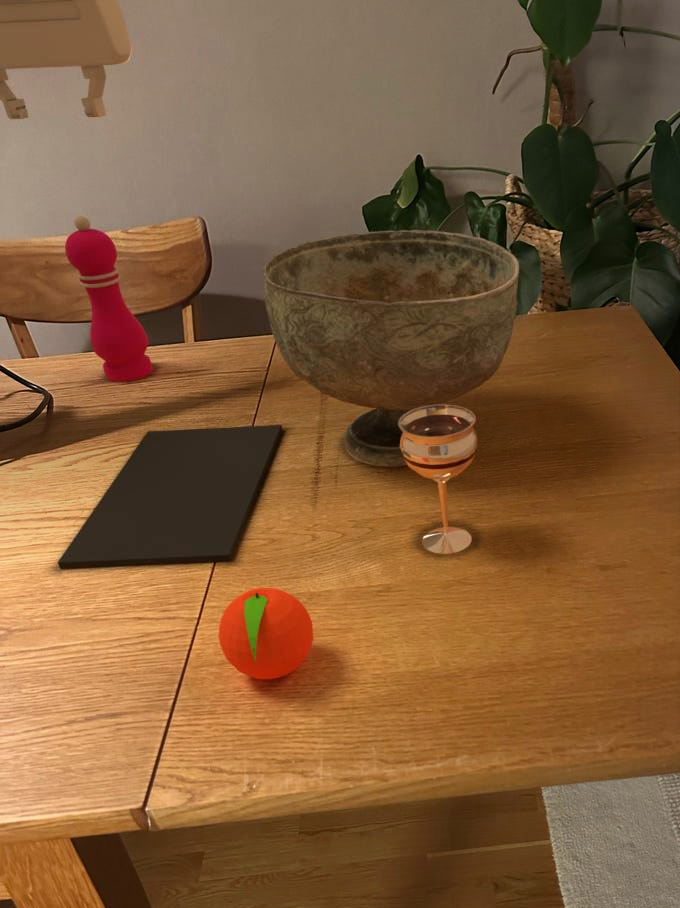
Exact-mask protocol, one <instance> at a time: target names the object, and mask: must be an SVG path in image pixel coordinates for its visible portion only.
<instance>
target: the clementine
mask: <svg viewBox="0 0 680 908" xmlns="http://www.w3.org/2000/svg"><path fill="white" fill-rule="evenodd" d="M218 640H219V641H218V642H219V646H220V648H221V650H222V652H223V654H224V656H225V658H226V661H227V662H228V663H230V664H231V665H232V666H233V667H234V668H235V669H236V670H237V671H238V672H239V673H241V674H243V675H246V676H248V677H251V678H253V679H257V680H274V679H279V678H281V677H284V676H287V675H290V674H291V673H293V672H295V671H296V670H297V669H298V668H299V667H300V666H301V665H302V664H303V662H304V661H305V660H306V658H307V657H308V656H309V654H310V650H311V647H312V645H313V641H314V628H313V621H312V619H311V616H310V614H309V611H308V610H307V608H306V607H305V606H304V605H303V604H302V602H301V601H300V600H299V599H298V598H297V597H295V596H294V595H292V594H290V593H289V592H287V591H285V590H282V589H279V588H273V587H256V588H253V589H249V590H247V591H245V592H242V593H241V594H240V595H238V596H237V597H235V598H234V599H233V600H232V601H231V602H230V603H229V604H228V605H227V607H226V608H225V610H224V612H223V614H222V615H221V617H220V622H219V627H218Z"/></svg>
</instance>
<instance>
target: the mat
mask: <svg viewBox="0 0 680 908" xmlns="http://www.w3.org/2000/svg"><path fill="white" fill-rule="evenodd" d="M283 432H284V430H283V425H282V424H274V425H272V424H269V425H249V426H229V427H208V428H189V429H188V428H187V429H170V430H169V429H166V430H165V429H164V430H148V431H147V432H146V433H145V435H144V436H143V437H142V439H141V440H140V442H139V443H138V445H137V446H136V448H135V449H134V450H133V452H132V453H131V455H130V456H129V457H128V459H127V461H126V462H125V463H124V465H123V467H122V468H121V470H119V473H118V474H117V475H116V477H115V478H114V480H113V481H112V483H111V484H110V485H109V487H108V489H107V490H106V492H104V495H102V497H101V499H99V501H98V503H97V505H96V506H95V507H94V508H93V510H92V512H91V513H90V514H89V516H88V518H87V519H86V520H85V522H84V523H83V525H82V526H81V528H80V529H79V531H78V532H77V533H76V535H75V537H74V538H73V539H72V541H71V542H70V544H69V545H68V546H67V548H66V550H65V551H64V552H63V554H62V555H61V557H60V558H59V560H58V561H57V564H58V567H59V569H60V570H70V569H71V570H73V569H91V568H92V569H93V568H112V567H113V568H114V567H136V566H157V565H159V566H160V565H179V564H201V563H203V564H204V563H226V562H231V561H232V559H233V557H234V555H235V552H236V550H237V546H238V544H239V542H240V540H241V537H242V534H243V531H244V529H245V526H246V524H247V521H248V520H249V517H250V514H251V512H252V509H253V506H254V504H255V501H256V499H257V496H258V494H259V491H260V489H261V487H262V484H263V481H264V480H265V477H266V474H267V471H268V469H269V466H270V465H271V462H272V459H273V457H274V454H275V452H276V449H277V446H278V444H279V441H280V439H281V436H282V433H283Z"/></svg>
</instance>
